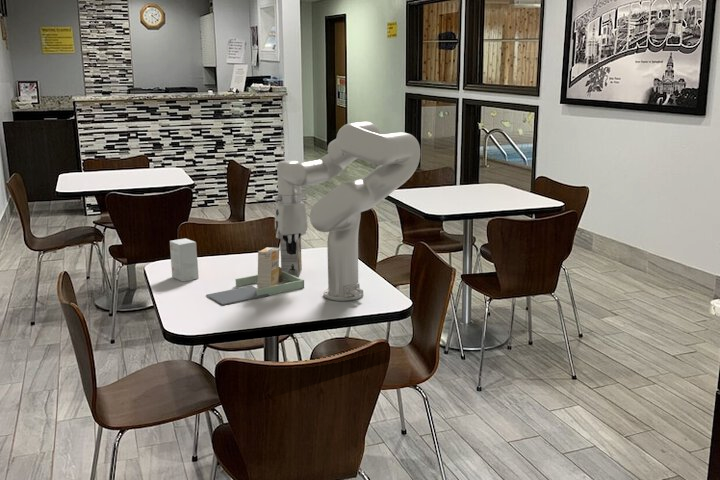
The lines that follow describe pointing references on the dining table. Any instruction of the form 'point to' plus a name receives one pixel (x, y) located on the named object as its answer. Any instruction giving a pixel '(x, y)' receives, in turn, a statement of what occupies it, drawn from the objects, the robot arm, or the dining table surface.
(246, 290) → the mat
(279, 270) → the walnut block
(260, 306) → the dining table surface
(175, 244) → the small box
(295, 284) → the tray
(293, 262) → the coffee box
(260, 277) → the supplement box
